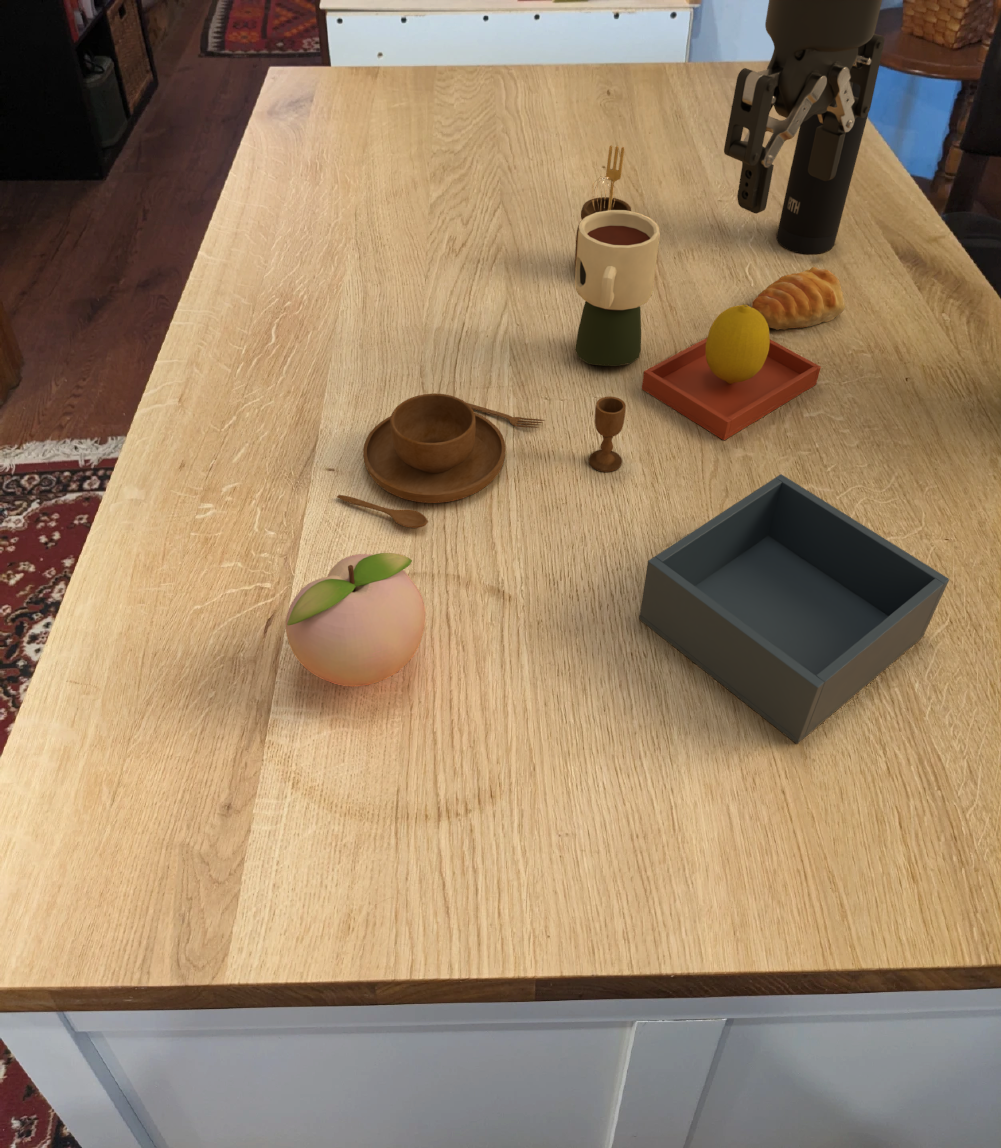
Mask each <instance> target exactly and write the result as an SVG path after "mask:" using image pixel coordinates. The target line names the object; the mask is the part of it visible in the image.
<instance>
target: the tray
mask: <svg viewBox="0 0 1001 1148" xmlns="http://www.w3.org/2000/svg"><path fill="white" fill-rule="evenodd" d="M706 341H707V337H706V338H705V337H704V339H701V340H700V341H698V342H696V343H694V344H692V345H690V346H689V347H686V348H685V349H682V350H681V351H679V352H677V353H675V354H673V355H671V356H670V357H668V358H666V359H664V360H662V361H659V362H658V363H656V364H654V365H653V366H651V367H649V368H646V369H645V370H644V371H643V375H642V382H641V383H642V384H641V390H642V391H644V392H646V393H647V394H649V395H651V396H652V397H654V398H655V399H657V400H658V401H660V402H662V403H663V404H665V405H666V406H667V407H670V408H671V409H673V410H675V411H676V412H678V413H679V414H680V415H683V416H684V417H685V418H688V419H689V420H691V421H692V422H694V423H695V424H697V425H699V426H701V427H702V428H703V429H705V430H706V431H709V432H710V433H711V434H713V435H715V436H716V437H718V438H719V439H721V440H722V441H726V440H727V439H729V438H731V437H732V436H734V435H736V434H737V433H739V432H740V431H742V430H744V429H745V428H747V427H749V426H750V425H752V424H754V423H755V422H758V420H760V419H762V418H764V417H765V416H767V415H768V414H770V413H772V412H774V411H775V410H777V409H779V408H780V407H782V406H783V405H785V404H787V403H788V402H790V401H791V400H793V399H794V398H797V397H798V396H800V395H802V394H804V393H805V392H806V391H809V390H810V389H811V388H814V387H815V386H816V385H817V384H818V379H819V376H820V373H821V368H822V366H821V365H819V364H817V363H815V362H813V361H812V360H810V359H808V358H806V357H804V356H802V355H800V354H798V353H797V352H795V351H793V350H791V349H789V348H788V347H785V345H784V346H783V345H782V344H780V343H778V342H776V341H775V340H772V339H770V345H769V351H768V355H767V358H766V360H765V362H764V364H763V366H762V368H761V369H760V370H759V371H758V372H757V373H756V374H755V375H754V376H753V377H752V378H750V379H748V380H746V381H742V382H736V383H733V384H729V383H727V382H726V381H724V380H722V379H720V378H718V377H717V376H716V375H715V374H714V373H713V372H712V371H711V369H710V367H709V366H708V363H707V359H706V350H705V349H706Z"/></svg>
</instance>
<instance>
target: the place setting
mask: <svg viewBox="0 0 1001 1148" xmlns="http://www.w3.org/2000/svg"><path fill="white" fill-rule="evenodd" d="M626 407H627V405H626V402H625V401H624V400H622V398H620V397H616V396H611V395H610V396H603V397H600V398H599V399H598V400H597V401H596V403H595V408H594V409H595V410H594V426H595V430H596V431H597V433H598V434H599V435H601V436H602V441H601V443H600V448H599V450H595V451H593V452H591V454H590V455H589V457H588V463H589V465H590V467H591V468H592V469H594V470H595V471H598V472H602V473H611V472H615V471H617V470H618V469H619V468H620V467H621V466H622V464H623V459H622V457H621V455H620V454H619V453H618V452H616V451H614V450H613V449H614V444H613V437H616V436H617V435H619V434H620V433H621V431H622V430H623V428H624V423H625V419H626V418H625V417H626ZM393 409H394V410H393V411H392V413H391V415H390V416H388V417H386V418H384V419H383V420H382V421H381V422H379V423H377V424H376V425H375V426H374V427H373V428H372V430H371V431H369V433H368V435H367V437H365V441H364V444H363V449H362V457H363V461H364V466H365V469H366V470H367V473H368V475H369V476H370V477H371V479H372V480H373V481H374V482H375V483H376V484H377V485H378V487H380V488H382V489H383V490H384V491H386V492H388V493H389V494H391V495H393V496H396V497H397V498H401V499H404V500H407V501H411V502H416V503H425V504H438V503H439V504H441V503H448V502H454V501H458V500H461V499H464V498H468V497H470V496H472V495H475V494H477V493H479V492H480V491H482V490H483V489H484V488H486V487H487V486H489V484H491V483H492V482H493V481H494V480H495V479H496V478H497V476H498V475H499V474H500V472H501V470H502V468H503V466H504V463H505V459H506V449H507V447H506V446H507V445H506V441H505V438H504V436H503V434H502V432H501V430H500V429H499V428H498V427H497V426H496V425H495V423H493V422H492V421H491V420H490V419H488V418H486V417H485V416H483V415H481V414H479V413H477V412H475V411H478V412H482V413H485V414H489V415H492V416H497V417H500V418H503V419H505V420H508V421H509V423H510V425H512V426H513V427H518V428H529V429H530V428H532V429H538V428H540V426H541V424H543V423H544V422H545V421H546V420H545V419H539V418H529V417H527V418H526V417H521V416H512V415H510V414H507V413H504V412H501V411H497V410H493V409H490V408H487V407H484V406H479V405H476V404H473V403H469V402H467V401H464V400H463V399H461V398H459V397H456V396H454V395H450V394H445V393H435V392H434V393H432V392H431V393H424V394H423V393H422V394H419V395H415V396H412V397H409V398H406V400H404V401H402V402H400V404H398V405H397V406H395V408H393ZM474 410H475V411H474ZM336 498H337V499H339V500H341V501H343V502H346V503H349V504H353V505H356V506H359V507H363V508H367V509H371V510H375V511H376V512H377V511H378V512H380V513H384V514H386V515H388V516H390V518H391V519H392V521H394V522H395V524H398V525H400V526H402V527H406V528H413V529H415V528H416V529H417V528H423V527H425V526H427V524H428V523H429V520H428V518H427V517H426V516H425V515H424V514H423V513H421V512H420V511H418V510H415V509H403V508H402V509H393V508H388V507H385V506H382V505H378V504H375V503H371V502H369V501H366V500H363V499H359V498H356V497H353V496H348V495H343V494H338V495H337V496H336Z"/></svg>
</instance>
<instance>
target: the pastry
mask: <svg viewBox="0 0 1001 1148" xmlns="http://www.w3.org/2000/svg"><path fill="white" fill-rule="evenodd" d="M751 307H752V308H754V309H756V310H757V311H759V312H760V313H761V314H762V315H763V316H764V318H765V320H766V322H767V324H768V327H769V329H775V330H776V331H778V330H782V331H783V330H784V331H785V330H789V329H802V328H807V327H813V326H816V325H820V324H821V323H824V322H825V323H827V322H831V321H833V320H834V319H835V318H837V317H838V316H839V315H840V314H841V313H842V312H843V311H844V310H845V308H846V302H845V299H844V293H843V291H842V288H841V282H840V280H839V278H838V277H837V276H836V275H835V274H834V273H832V272H831V271H830V270H829V269H826V268H825V269H824V268H817V267H815V266H813V267H810V268H809V269H805V270H804V271H800V272H796V273H791V274H786V275H783V276H781V277H779V279H777V280H775V281H774V282H773V283H771V284H769V285H768V286H767V287H766V288H765V289H764V290H762V291H761V293H759V294H758V295H757V297H755V298H754V299H753V301H752V302H751Z"/></svg>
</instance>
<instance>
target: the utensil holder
mask: <svg viewBox="0 0 1001 1148" xmlns="http://www.w3.org/2000/svg"><path fill="white" fill-rule="evenodd" d="M612 153H613V145H609V148H608V155H607V163H606V172H605V176H604V177H603V176H599V177H598V178H597V179H596V181H594V182H593V184H592V187H591V188H592V189H591V193H595V191H596V189H599V183H600V182H601V181H602V180H603V181H602V185H601V188H603V186H604V181H605V183H606V185H607V186H608V191H609V194H608V195H609V196H607V191H605V195H604V196H602V195H603V190H600V191H601V192H600V197H598V196H596V197H593V198H590V199H588V200H587V201H585V202H584V203H583V204H582V208H581V210H580V211H581V212H580V219H581V220H580V221H579V223H578V226H577V229H576V235H575V248H574V249H575V250H574V266H575V267H574V268H575V269H576V259H577V245H578V231H579V224H580V222H581V221H582V220H583V219H584V218H585V217H586V216H589V215H591V214H594V213H596V212H602V211H608V210H626V211H631V212H632V207H631V206H630V204H629V203H628V202H626V201H625V200H623V199H619V198H616V197H614V190H615V189H616V187H615V182H617V181H619V180H620V179H621V178H622V171H623V163H624V162H623V161H624V155H625V147H624V146H622V147H621V148H620V154H619V146H615V148H614V155H613V154H612ZM618 155H620V156H619V163H618V164H617V162H618ZM612 156H613V164H612V169H611V163H612ZM617 165H618V169H617ZM607 180H608V181H609V182H610V185H609V183H608V181H607ZM596 182H597V183H596ZM595 183H596V185H595ZM594 185H595V187H594Z"/></svg>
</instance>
